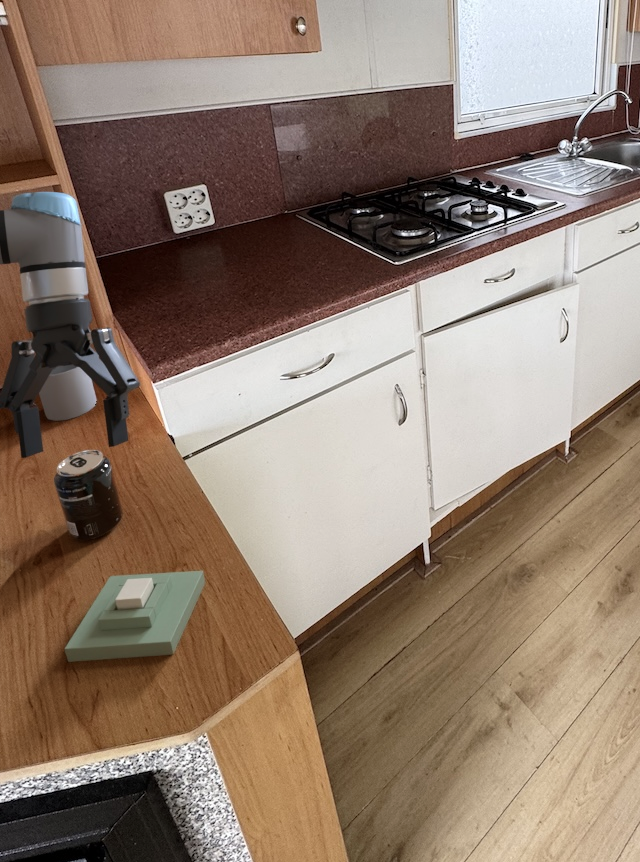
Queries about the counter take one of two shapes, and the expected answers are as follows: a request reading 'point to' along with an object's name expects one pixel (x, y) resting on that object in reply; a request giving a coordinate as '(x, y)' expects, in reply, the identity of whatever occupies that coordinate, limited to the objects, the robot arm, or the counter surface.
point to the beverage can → (88, 494)
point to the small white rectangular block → (134, 594)
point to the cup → (67, 393)
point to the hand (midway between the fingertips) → (75, 449)
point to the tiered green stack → (137, 619)
